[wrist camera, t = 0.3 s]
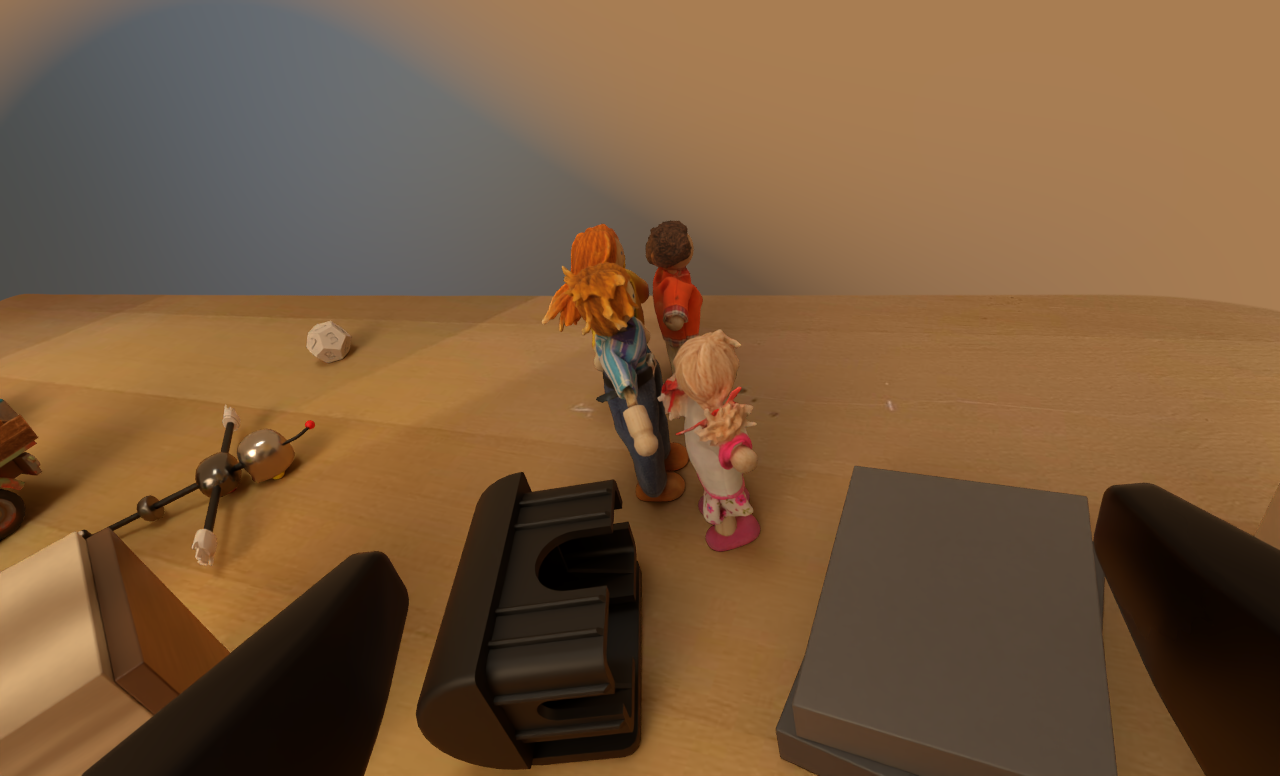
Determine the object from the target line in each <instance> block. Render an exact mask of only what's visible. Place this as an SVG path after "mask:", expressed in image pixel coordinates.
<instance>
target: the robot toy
mask: <svg viewBox="0 0 1280 776" xmlns="http://www.w3.org/2000/svg"><path fill="white" fill-rule="evenodd" d="M222 423H223V425H224V427H225V428H226V430H225V434H224V439H223V443H222V448H221V452H219V453H216V454H213V455H211V456H210V457H208V458H206V459H204V460H203V461H202V462H200V464H199V465H198V467H197V469H196V476H195V480H196V483H194V484H192V485H190V486H188V487H186V488H184V489H182V490H180V491H178V492H176V493H174V494H172V495H170V496H168V497H166V498H164V499H162V500H160V501H159V500H158V499H157V498H155V497H154V496H151V495H149V496H146V497H144V498H142V499H141V500H140V501H139V503H138V504H137V513H135V514H133V515H131V516H129V517H127V518H125V519H123V520H121V521H119V522H117V523H115V524H113V525H111V526H109V527H108V528H110V529H111V530H112V531H114V530H116V529H118V528H120V527H122V526H124V525H126V524H128V523H130V522H132V521H134V520H136V519H138V518H140V517H141V518H143V519H144V520H147V521H156V520H159V519H161V518H162V517H163V516H164V512H165V511H164V507H163V506H165V505H167V504H169V503H171V502H173V501H175V500H177V499H179V498H181V497H183V496H185V495H187V494H189V493H191V492H193V491H195V490H197V489H200V491H201V492H202V493H203V494H205V495H206V496H207V497H210V502H209V507H208V511H207V516H206V520H205V525H204V529H200V530H198V531H197V533H196V535H195V539H194V543H193V544H192V549H194V548H195V549H196V555H195V558H196V559H197V560H198V563H199V564H200V565H202V564H203V565H205V566H206V565H208V561H209V565H210V566H212V565H213V562H214V554H215V552H216V548H217V538H216V536H215V534H213V528H214V523H215V518H216V513H217V508H218V503H219V498H220V497H222V496H224V495H227V494H229V493H231V492H233V491H234V490H236V488H237V487H238V485H239V484H240V481H241V476H242V470H241V469H243V468H244V469H245V470H246V471H247V472H248V473H249V474H250V475H251V478H252V481H254V482H255V483H260V482H263V481H265V480H268V479H270V478H273V479H280V478H282V477H283V476H284V471H285V470H286V469H287V468H288V467H289V466H290V465H291V463H292V462H293V460H294V457H295V452H294V449H293V447H292V446H291V444H290V442H292V441H294V440H296V439H297V438H299V437H300V436H302V435H303V434H304V433H305V432H306V431H307V430H308V429H313V428H314V427H315V423H314V422H313V421H311V420H309V421H307V422H306V423H305V427H306V428H305V429H304V430H303V431H302V432H300V433H299V434H298V435H296V436H295V437H293V438H291V439H289V440H286V439H285V438H284V437H283V436H282V435H281V434H280V433H278V432H276V431H274V430H271V429H260V430H258V431H255V432H252V433H251V434H249V435H248V436H246V437H245V438H244V439H243V440H242V441H241V442H240V444H239V446H238V449H237V456H238V459H239V462H238V461H237V459H236V458H235V457H233V456H232V455H231V454H230V453H229V448H230V444H231V439H232V434H233V431H236V430H237V429H238V427H239V425H240V418H239V416H238V415H237V413H236V412H235V409H234V408H233V409H232V408H231V407H229V409H228V408H227V406H226V405H225V409H224V415H223V421H222ZM101 531H102V530H101ZM99 532H100V531H99ZM78 533H79V534H80V535H81V536H82V537H83V538H84V539H85V540H86V539H87V538H89V537H91V536H93V535H94V534H93V535H92V534H90V533H89V532H88V531H87V530H82V531H80V532H78ZM97 533H98V532H97ZM95 534H96V533H95Z"/></svg>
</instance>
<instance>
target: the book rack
mask: <svg viewBox="0 0 1280 776" xmlns="http://www.w3.org/2000/svg"><path fill="white" fill-rule="evenodd" d="M229 654H230V652H229V651H228V650H227V649H226V648H225V647H224V646H223V645H222V644H221V643H220V642H219V641H218V640H217V639H216V638H215V637H214V636H213V635H212V634H211V632H210V631H209V630H208V629H207V628H206V627H205V626H204V625H203V624H202V623H201V622H200V621H199V620H198V619H197V618H196V617H195V616H194V615H193V614H192V613H191V612H190V611H189V610H188V609H187V608H186V607H185V606H184V605H183V603H182V602H181V601H180V600H179V599H178V598H177V597H176V596H175V595H174V594H173V593H172V592H171V591H170V590H169V589H168V588H167V587H166V586H165V585H164V584H163V583H162V582H161V581H160V580H159V579H158V578H157V577H156V576H155V574H154V573H153V572H152V571H151V570H150V569H149V568H148V567H147V566H146V565H145V564H144V563H143V562H142V561H141V560H140V559H139V558H138V557H137V556H136V555H135V554H134V553H133V552H132V551H131V550H130V549H129V548H128V546H127V545H126V544H125V543H124V542H123V541H122V540H121V539H120V538H119V537H118V536H117V535H116V534H115V533H114V532H113V531H112V530H111V529H110V528H108V527H107V528H105V529H103V530H102V531H100V532H98V533H96V534H94V535H93V536H91V537H89V538H87V539H86V540H85V539H84V538H83V537H82V536H81V535H80V534H79V533H78V532H76V531H75V532H73V533H71V534H69V535H67V536H66V537H64V538H62V539H60V540H58V541H56V542H55V543H53V544H51V545H49V546H47V547H45V548H44V549H42V550H40V551H38V552H36V553H34V554H33V555H31V556H29V557H27V558H25V559H24V560H22V561H20V562H18V563H16V564H14V565H13V566H11V567H9V568H7V569H5V570H3V571H2V572H0V776H82V774H83V773H84V772H85V771H86V770H87V769H89V768H90V767H91V766H92V765H93V764H95V763H96V762H97V761H98V760H100V759H101V758H102V757H103V756H105V755H106V754H107V753H108V752H109V751H111V750H112V749H113V748H114V747H116V746H117V745H118V744H119V743H121V742H122V741H123V740H124V739H125V738H127V737H128V736H129V735H130V734H132V733H133V732H134V731H135V730H136V729H138V728H139V727H140V726H141V725H143V724H144V723H145V722H146V721H148V720H149V719H150V718H151V717H152V716H154V715H155V714H156V713H157V712H159V711H160V710H161V709H162V708H164V707H165V706H166V705H167V704H168V703H170V702H171V701H172V700H173V699H175V698H176V697H177V696H178V695H179V694H181V693H182V692H183V691H184V690H186V689H187V688H188V687H189V686H191V685H192V684H193V683H194V682H195V681H197V680H198V679H199V678H200V677H202V676H203V675H204V674H205V673H207V672H208V671H209V670H210V669H211V668H213V667H214V666H215V665H216V664H218V663H219V662H220V661H221V660H222V659H224V658H225V657H226V656H227V655H229Z"/></svg>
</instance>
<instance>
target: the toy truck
mask: <svg viewBox="0 0 1280 776" xmlns="http://www.w3.org/2000/svg"><path fill="white" fill-rule="evenodd" d="M37 438H38V436H37V435H36V434H35V433H34V431H33V430H32V429H31V428H30V426H29V425H28V424H27V422H26V421H25V420H24V419H23V417H22V416H21V415H18V416H16V417H14V418H13V419H11V420H1V419H0V488H13V489H16V490H21V488H22V487H23V486H24V484H25V482H22V481H19V480H16V479H15V478H16V477H17V476H19V475H20V474H29V475H38V474H40V473H41V472H42V470H41V469H40V468H39V465H40V462H39V461H38V460H37V459H36V458H35V457H34V456H33V455H31V454H29V453H27V452H24V451H26V450H28V449H29V448H31V447H32V446H34V445H35V444H37V443H36V442H35V441H34V440H35V439H37ZM23 452H24V453H23ZM24 516H25V504H24V502H23V500H22V499H21V497H20V496H18V495H17V494H16V493H13V492H11V491H8V490H4V489H0V539H3V538H5V537H7V536H8V535H10V534H12V533H13V532H14V531H15V530H16V529H17V528H18V527H19V525H20V524H21V523H22V521H23V518H24Z"/></svg>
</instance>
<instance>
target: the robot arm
mask: <svg viewBox="0 0 1280 776" xmlns="http://www.w3.org/2000/svg"><path fill="white" fill-rule="evenodd" d="M1094 549H1095V553H1096V556H1097V559H1098V561H1099V564H1100V566H1101V568H1102V570H1103V573H1104V575H1105V577H1106V579H1107V582H1108V584H1109V586H1110V588H1111V591H1112V593H1113V595H1114V597H1115V600H1116V602H1117V604H1118V607H1119V609H1120V611H1121V613H1122V616H1123V618H1124V620H1125V622H1126V625H1127V627H1128V629H1129V631H1130V634H1131V636H1132V638H1133V640H1134V643H1135V645H1136V647H1137V649H1138V652H1139V654H1140V656H1141V659H1142V661H1143V663H1144V665H1145V667H1146V669H1147V671H1148V674H1149V676H1150V678H1151V680H1152V682H1153V684H1154V686H1155V688H1156V690H1157V692H1158V693H1159V695H1160V697H1161V699H1162V701H1163V702H1164V704H1165V706H1166V708H1167V710H1168V711H1169V713H1170V715H1171V717H1172V718H1173V720H1174V722H1175V724H1176V725H1177V727H1178V729H1179V730H1180V732H1181V734H1182V736H1183V737H1184V739H1185V741H1186V743H1187V744H1188V746H1189V748H1190V749H1191V751H1192V753H1193V755H1194V756H1195V758H1196V760H1197V762H1198V763H1199V765H1200V767H1201V768H1202V770H1203V772H1204V774H1205V775H1206V776H1280V550H1279V549H1277V548H1275V547H1273V546H1271V545H1269V544H1268V543H1266V542H1264V541H1262V540H1260V539H1258V538H1256V537H1254V536H1252V535H1250V534H1248V533H1247V532H1245V531H1243V530H1241V529H1239V528H1237V527H1235V526H1233V525H1231V524H1229V523H1227V522H1226V521H1224V520H1222V519H1220V518H1218V517H1216V516H1214V515H1212V514H1210V513H1208V512H1206V511H1205V510H1203V509H1201V508H1199V507H1197V506H1195V505H1193V504H1191V503H1189V502H1187V501H1185V500H1183V499H1182V498H1180V497H1178V496H1176V495H1174V494H1172V493H1170V492H1168V491H1166V490H1164V489H1162V488H1161V487H1158V486H1156V485H1154V484H1150V483H1134V484H1123V485H1114V486H1111V487H1109V488H1108V489H1107V490H1106V491H1105V492H1104V495H1103V498H1102V502H1101V507H1100V511H1099V515H1098V520H1097V524H1096V528H1095V533H1094ZM408 606H409V597H408V592H407V589H406V587H405V585H404V584H403V582H402V580H401V578H400V577H399V575H398V573H397V572H396V570H395V568H394V566H393V565H392V563H391V561H390V559H389V558H388V557H387V555H385V554H384V553H383V552H379V551H374V552H363V553H356V554H353V555H351V556H349V557H348V558H347V559H345V560H344V561H343V562H342V563H340V564H339V565H338V566H337V567H336V568H334V569H333V570H332V571H331V572H329V573H328V574H327V575H326V576H324V577H323V578H322V579H321V580H320V581H318V582H317V583H316V584H315V585H313V586H312V587H311V588H310V589H308V590H307V591H306V592H305V593H304V594H302V595H301V596H300V597H299V598H297V599H296V600H295V601H294V602H293V603H291V604H290V605H289V606H288V607H286V608H285V609H284V610H283V611H281V612H280V613H279V614H278V615H277V616H275V617H274V618H273V619H272V620H270V621H269V622H268V623H267V624H265V625H264V626H263V627H262V628H261V629H259V630H258V631H257V632H256V633H254V634H253V635H252V636H251V637H250V638H248V639H247V640H246V641H245V642H243V643H242V644H241V645H240V646H238V647H237V648H236V649H235V650H234V651H232V652H231V653H230V654H229V655H227V656H226V657H225V658H224V659H222V660H221V661H220V662H219V663H218V664H216V665H215V666H214V667H213V668H211V669H210V670H209V671H208V672H207V673H205V674H204V675H203V676H202V677H200V678H199V679H198V680H197V681H195V682H194V683H193V684H192V685H191V686H189V687H188V688H187V689H186V690H184V691H183V692H182V693H181V694H179V695H178V696H177V697H176V698H175V699H173V700H172V701H171V702H170V703H168V704H167V705H166V706H165V707H164V708H162V709H161V710H160V711H159V712H157V713H156V714H155V715H154V716H152V717H151V718H150V719H149V720H148V721H146V722H145V723H144V724H143V725H141V726H140V727H139V728H138V729H136V730H135V731H134V732H133V733H132V734H130V735H129V736H128V737H127V738H125V739H124V740H123V741H122V742H121V743H119V744H118V745H117V746H116V747H114V748H113V749H112V750H111V751H109V752H108V753H107V754H106V755H105V756H103V757H102V758H101V759H100V760H98V761H97V762H96V763H95V764H93V765H92V766H91V767H90V768H89V769H87V770H86V771H85V772H84V773H83V774H82V776H364V774H365V771H366V768H367V765H368V762H369V759H370V756H371V753H372V750H373V747H374V744H375V741H376V738H377V735H378V732H379V728H380V725H381V722H382V718H383V715H384V711H385V707H386V703H387V700H388V696H389V691H390V687H391V682H392V678H393V673H394V669H395V665H396V660H397V656H398V651H399V647H400V643H401V638H402V634H403V629H404V625H405V620H406V616H407V612H408Z"/></svg>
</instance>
